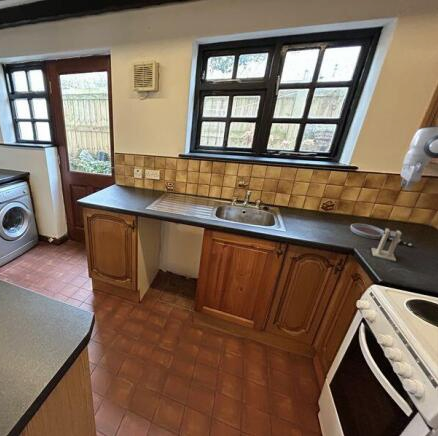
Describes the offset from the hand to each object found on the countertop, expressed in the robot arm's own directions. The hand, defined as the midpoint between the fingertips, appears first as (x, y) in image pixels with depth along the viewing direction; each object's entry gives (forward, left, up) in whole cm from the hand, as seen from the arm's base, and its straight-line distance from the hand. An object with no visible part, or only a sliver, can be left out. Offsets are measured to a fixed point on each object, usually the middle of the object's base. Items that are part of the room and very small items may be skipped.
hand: (404, 188), depth 125 cm
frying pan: (+1, -7, -31) cm, 32 cm away
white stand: (+2, +21, -31) cm, 38 cm away
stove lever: (+2, +17, -23) cm, 29 cm away
